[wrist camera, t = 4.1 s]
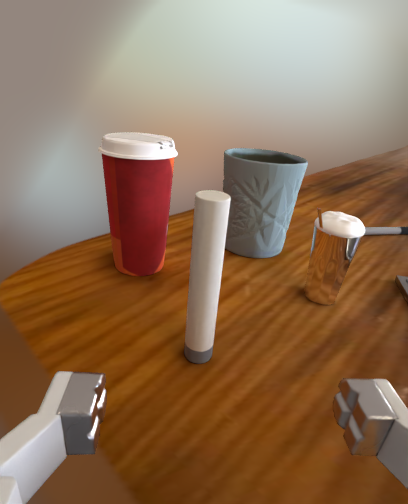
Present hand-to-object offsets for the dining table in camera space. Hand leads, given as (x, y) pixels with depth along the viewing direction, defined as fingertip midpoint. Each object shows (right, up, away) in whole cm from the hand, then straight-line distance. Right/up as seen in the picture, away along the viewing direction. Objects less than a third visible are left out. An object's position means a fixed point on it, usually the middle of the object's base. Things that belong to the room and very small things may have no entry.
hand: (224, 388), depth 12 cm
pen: (+28, +7, +42) cm, 51 cm away
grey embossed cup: (+6, +6, +35) cm, 36 cm away
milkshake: (+11, 0, +24) cm, 27 cm away
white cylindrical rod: (-1, -3, +15) cm, 15 cm away
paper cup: (-8, +3, +27) cm, 29 cm away
